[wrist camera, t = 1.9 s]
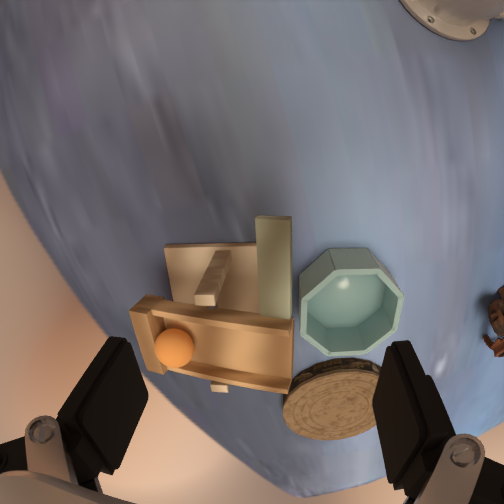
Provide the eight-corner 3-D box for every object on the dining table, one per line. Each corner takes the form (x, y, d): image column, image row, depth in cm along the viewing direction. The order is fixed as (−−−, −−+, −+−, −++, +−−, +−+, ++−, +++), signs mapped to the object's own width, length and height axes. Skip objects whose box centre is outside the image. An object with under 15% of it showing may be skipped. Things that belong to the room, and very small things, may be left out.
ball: (198, 325, 27) (176, 349, 24) (203, 356, 29) (184, 380, 25) (165, 317, 28) (142, 338, 25) (172, 347, 30) (151, 369, 27)
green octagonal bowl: (393, 247, 32) (408, 267, 27) (381, 326, 36) (391, 352, 31) (299, 249, 33) (301, 270, 28) (298, 329, 37) (299, 357, 32)
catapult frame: (286, 242, 33) (287, 290, 24) (287, 335, 38) (286, 396, 28) (166, 244, 34) (129, 288, 25) (183, 332, 39) (159, 388, 30)
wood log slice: (349, 433, 45) (351, 447, 43) (264, 411, 44) (263, 426, 41) (410, 373, 39) (415, 387, 36) (319, 340, 38) (321, 356, 35)
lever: (295, 215, 22) (285, 230, 19) (292, 380, 28) (285, 405, 25) (131, 212, 26) (108, 224, 23) (163, 355, 32) (149, 374, 29)
